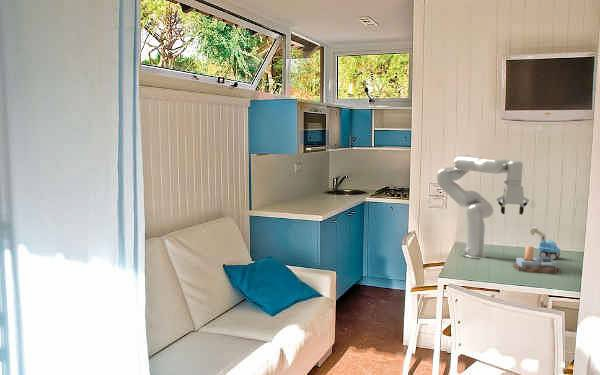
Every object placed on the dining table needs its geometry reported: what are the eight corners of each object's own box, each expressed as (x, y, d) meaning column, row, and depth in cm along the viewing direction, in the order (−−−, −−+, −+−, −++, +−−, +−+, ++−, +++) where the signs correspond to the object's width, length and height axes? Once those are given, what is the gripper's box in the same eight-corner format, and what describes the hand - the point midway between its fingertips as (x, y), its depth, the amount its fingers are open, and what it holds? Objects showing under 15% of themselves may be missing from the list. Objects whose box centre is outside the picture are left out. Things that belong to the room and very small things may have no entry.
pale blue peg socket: (523, 272, 277) (523, 259, 276) (514, 265, 291) (514, 253, 290) (558, 273, 276) (559, 261, 275) (548, 266, 290) (548, 254, 289)
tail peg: (525, 266, 282) (527, 247, 281) (523, 264, 286) (524, 245, 285) (533, 266, 282) (535, 247, 280) (530, 264, 286) (532, 246, 284)
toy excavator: (531, 253, 327) (533, 225, 325) (561, 258, 316) (563, 229, 314) (527, 255, 320) (529, 227, 318) (557, 260, 310) (559, 231, 308)
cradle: (519, 274, 278) (520, 266, 277) (511, 268, 291) (511, 260, 290) (561, 276, 277) (561, 267, 276) (551, 269, 290) (551, 261, 289)
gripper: (500, 183, 292) (498, 214, 294) (532, 184, 291) (530, 215, 293) (495, 182, 299) (494, 212, 301) (527, 183, 298) (525, 213, 300)
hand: (511, 214), depth 297 cm, fingers open, 9 cm apart
